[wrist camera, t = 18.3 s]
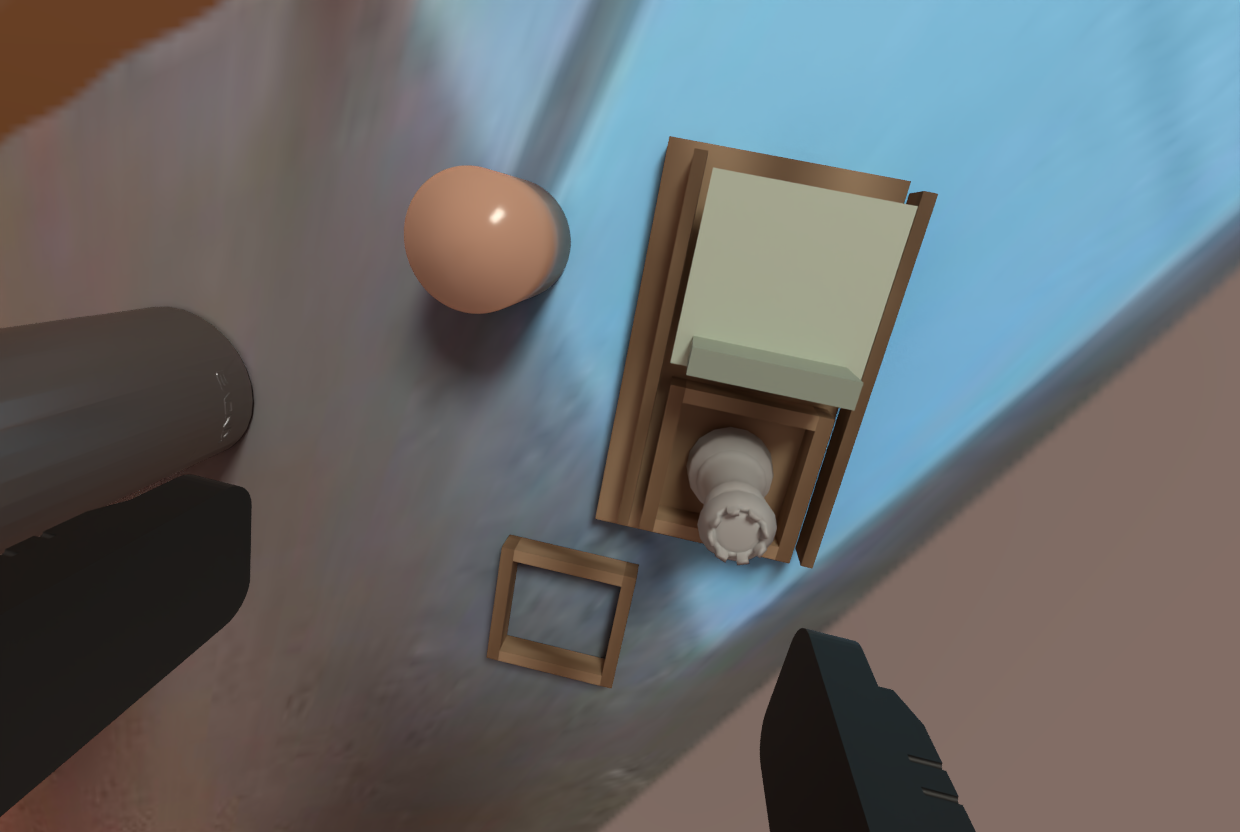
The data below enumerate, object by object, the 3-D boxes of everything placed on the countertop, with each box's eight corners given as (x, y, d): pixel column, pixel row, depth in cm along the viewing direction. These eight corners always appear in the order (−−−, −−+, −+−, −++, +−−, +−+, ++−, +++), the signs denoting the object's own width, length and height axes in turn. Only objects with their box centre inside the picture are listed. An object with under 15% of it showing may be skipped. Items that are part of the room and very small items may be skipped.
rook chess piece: (769, 503, 32) (791, 589, 24) (685, 500, 32) (681, 583, 25) (774, 424, 31) (799, 488, 23) (687, 423, 31) (683, 484, 24)
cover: (671, 359, 28) (667, 377, 25) (712, 169, 25) (714, 159, 22) (850, 397, 28) (870, 420, 24) (912, 207, 25) (944, 203, 22)
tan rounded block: (452, 286, 32) (399, 297, 26) (464, 167, 30) (409, 152, 24) (560, 309, 31) (530, 326, 26) (579, 190, 30) (551, 181, 24)
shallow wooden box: (598, 509, 35) (589, 534, 32) (670, 140, 28) (667, 130, 25) (797, 554, 34) (806, 584, 31) (917, 186, 28) (942, 181, 25)
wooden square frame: (494, 641, 38) (486, 657, 37) (509, 534, 36) (501, 546, 34) (614, 671, 38) (611, 688, 36) (639, 564, 35) (636, 578, 34)
